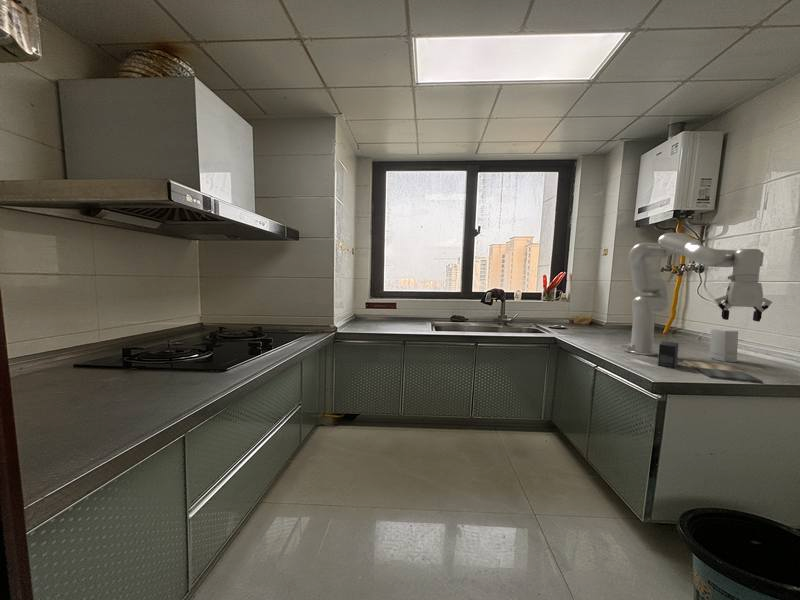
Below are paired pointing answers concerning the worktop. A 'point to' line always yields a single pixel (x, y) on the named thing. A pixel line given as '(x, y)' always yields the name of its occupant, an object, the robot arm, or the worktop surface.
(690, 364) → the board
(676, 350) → the small box
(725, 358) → the skincare box
